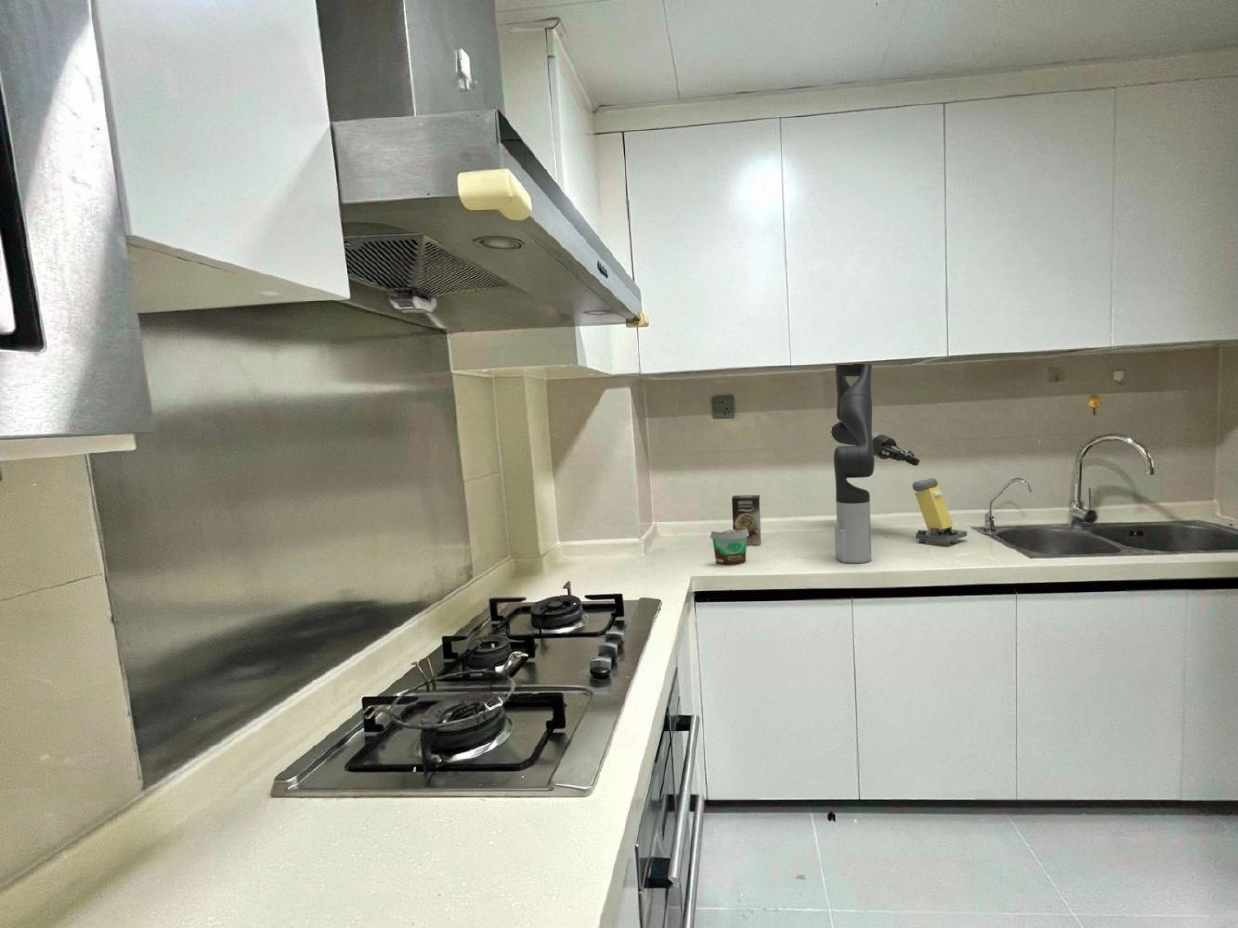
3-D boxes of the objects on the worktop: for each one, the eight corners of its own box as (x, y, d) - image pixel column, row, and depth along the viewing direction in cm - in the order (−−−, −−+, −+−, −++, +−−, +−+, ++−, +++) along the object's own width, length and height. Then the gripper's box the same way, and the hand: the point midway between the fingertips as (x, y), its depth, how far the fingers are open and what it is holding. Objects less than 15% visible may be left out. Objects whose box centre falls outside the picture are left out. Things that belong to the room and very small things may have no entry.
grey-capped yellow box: (943, 531, 203) (924, 478, 206) (927, 535, 207) (908, 483, 210) (958, 526, 208) (939, 475, 211) (942, 530, 212) (923, 480, 216)
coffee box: (733, 545, 221) (730, 497, 219) (734, 541, 227) (732, 495, 225) (761, 545, 218) (759, 497, 217) (761, 541, 225) (759, 494, 223)
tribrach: (947, 547, 201) (946, 531, 200) (915, 542, 209) (915, 527, 208) (967, 540, 208) (966, 524, 207) (936, 536, 216) (935, 521, 215)
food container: (722, 568, 193) (720, 534, 192) (711, 564, 198) (710, 531, 197) (758, 562, 197) (756, 529, 196) (746, 558, 203) (745, 526, 202)
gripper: (867, 432, 221) (906, 450, 206) (895, 435, 226) (935, 452, 212) (860, 453, 223) (898, 472, 208) (888, 456, 229) (928, 474, 214)
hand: (917, 462), depth 210 cm, fingers closed
